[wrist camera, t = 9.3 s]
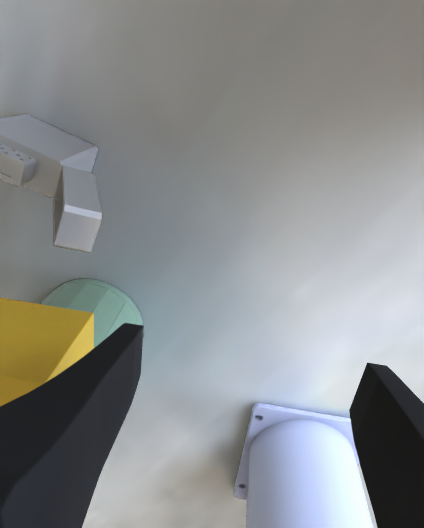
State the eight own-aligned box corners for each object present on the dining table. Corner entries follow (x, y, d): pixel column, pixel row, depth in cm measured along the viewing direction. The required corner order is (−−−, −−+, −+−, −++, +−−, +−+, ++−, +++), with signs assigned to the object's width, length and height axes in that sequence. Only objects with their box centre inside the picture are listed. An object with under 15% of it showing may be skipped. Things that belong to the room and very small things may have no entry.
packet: (94, 463, 22) (57, 552, 18) (14, 449, 22) (-41, 533, 18) (94, 312, 18) (45, 383, 14) (-6, 296, 18) (-84, 361, 14)
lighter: (16, 144, 21) (-108, 178, 14) (23, 112, 20) (-105, 131, 13) (141, 200, 22) (83, 261, 14) (151, 171, 21) (97, 220, 14)
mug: (74, 258, 24) (20, 312, 18) (163, 319, 25) (138, 386, 19) (13, 350, 27) (-48, 418, 22) (94, 399, 28) (56, 475, 23)
